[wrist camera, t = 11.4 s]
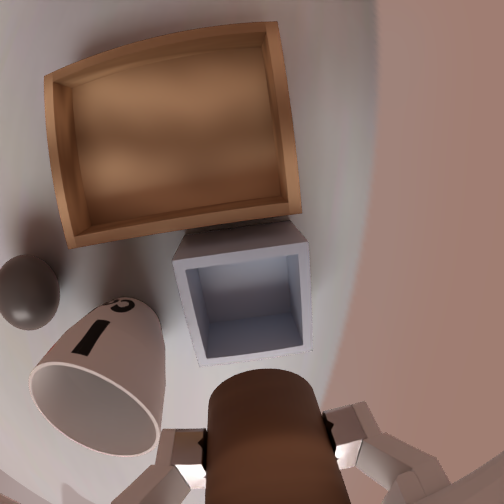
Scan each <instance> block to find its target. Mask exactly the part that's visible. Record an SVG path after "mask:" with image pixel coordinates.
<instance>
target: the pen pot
mask: <svg viewBox="0 0 504 504" xmlns="http://www.w3.org/2000/svg"><path fill="white" fill-rule="evenodd" d="M172 264H173V268H174V273H175V277H176V281H177V286H178V290H179V294H180V298H181V302H182V306H183V310H184V314H185V318H186V322H187V325H188V329H189V333H190V336H191V340H192V344H193V347H194V351H195V354H196V358H197V361H198V364H199V367H204V366H214V365H223V364H232V363H240V362H248V361H255V360H262V359H269V358H275V357H281V356H287V355H293V354H299V353H304V352H310V351H313V331H312V299H311V276H310V257H309V242H308V240H307V239H306V238H305V237H304V236H303V235H302V233H301V232H300V231H299V230H298V229H297V228H296V227H295V226H294V224H293V223H292V222H291V221H290V220H289V221H282V222H274V223H266V224H259V225H252V226H244V227H237V228H230V229H223V230H216V231H209V232H202V233H196V234H189V235H185V236H184V238H183V240H182V242H181V243H180V245H179V247H178V249H177V251H176V253H175V255H174V257H173V259H172Z"/></svg>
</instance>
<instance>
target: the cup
mask: <svg viewBox="0 0 504 504" xmlns="http://www.w3.org/2000/svg"><path fill="white" fill-rule="evenodd" d="M165 386H166V380H165V343H164V339H163V334H162V329H161V324H160V321H159V319H158V317H157V315H156V314H155V312H154V311H153V310H152V309H151V308H150V307H149V306H148V305H146V304H145V303H143V302H141V301H139V300H137V299H134V298H128V297H122V298H117V299H114V300H112V301H110V302H108V303H105V304H103V305H101V306H99V307H97V308H95V309H93V310H92V311H91V312H90V313H88V314H87V315H86V316H85V317H83V318H82V319H81V320H79V321H78V322H77V323H76V324H74V325H73V326H72V327H71V328H70V329H68V330H67V331H66V332H65V333H64V334H63V335H62V336H61V338H60V339H59V340H58V341H57V342H56V343H55V344H54V346H53V347H52V348H51V349H50V350H49V351H48V353H47V354H46V355H45V356H44V357H43V358H42V360H41V361H40V362H39V363H38V364H37V366H36V367H35V368H34V369H33V370H32V372H31V374H30V376H29V390H30V394H31V397H32V399H33V401H34V403H35V405H36V407H37V408H38V410H39V411H40V412H41V414H42V415H43V416H44V417H45V419H46V420H47V421H48V422H49V423H50V424H51V425H52V426H53V427H55V428H56V429H57V430H58V431H59V432H61V433H62V434H63V435H65V436H66V437H68V438H69V439H71V440H72V441H74V442H76V443H78V444H80V445H82V446H84V447H86V448H88V449H91V450H93V451H96V452H99V453H103V454H107V455H112V456H119V457H134V456H140V455H143V454H146V453H148V452H150V451H152V450H153V449H154V448H155V447H156V446H157V444H158V442H159V439H160V431H161V421H162V411H163V402H164V394H165Z"/></svg>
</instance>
